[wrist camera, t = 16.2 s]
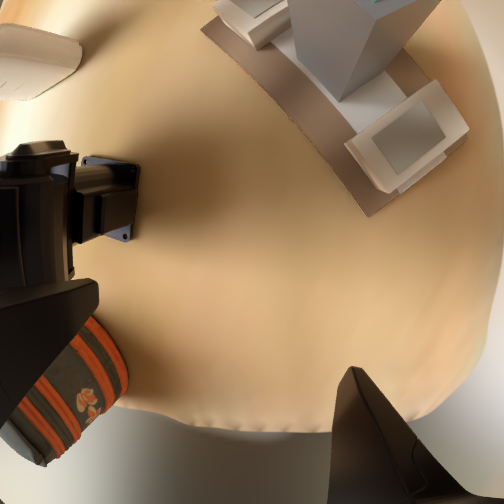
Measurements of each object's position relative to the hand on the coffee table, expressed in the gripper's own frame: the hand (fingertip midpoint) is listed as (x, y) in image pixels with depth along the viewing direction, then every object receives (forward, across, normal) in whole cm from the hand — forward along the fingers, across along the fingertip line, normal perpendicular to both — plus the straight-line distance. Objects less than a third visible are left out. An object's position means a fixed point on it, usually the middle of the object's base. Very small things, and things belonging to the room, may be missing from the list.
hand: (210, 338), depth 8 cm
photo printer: (+12, +26, -12) cm, 31 cm away
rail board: (+12, -2, -13) cm, 18 cm away
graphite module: (+11, -2, -13) cm, 17 cm away
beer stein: (+12, +21, +20) cm, 32 cm away
